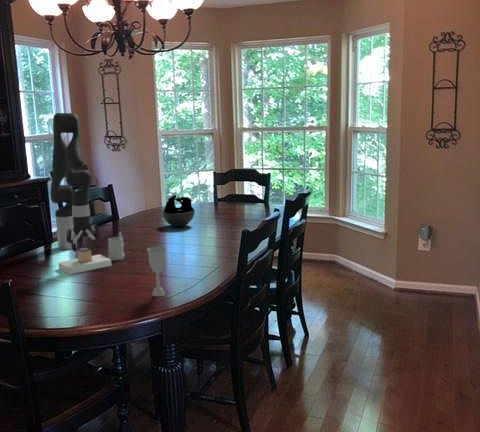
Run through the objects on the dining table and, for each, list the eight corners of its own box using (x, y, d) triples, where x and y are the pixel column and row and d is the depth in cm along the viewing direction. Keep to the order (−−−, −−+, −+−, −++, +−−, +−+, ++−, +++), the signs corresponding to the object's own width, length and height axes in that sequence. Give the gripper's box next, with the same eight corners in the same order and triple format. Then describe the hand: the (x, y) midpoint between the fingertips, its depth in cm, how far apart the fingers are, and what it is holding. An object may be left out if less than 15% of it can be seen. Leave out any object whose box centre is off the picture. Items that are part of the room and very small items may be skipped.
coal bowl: (193, 229, 308) (192, 199, 305) (160, 230, 309) (158, 199, 305) (196, 223, 328) (195, 193, 324) (165, 223, 328) (164, 194, 325)
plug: (78, 267, 235) (77, 249, 233) (88, 265, 238) (86, 247, 236) (82, 269, 232) (81, 251, 230) (92, 267, 235) (91, 249, 233)
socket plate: (58, 268, 233) (58, 262, 232) (100, 260, 246) (99, 254, 245) (69, 274, 224) (68, 268, 223) (111, 265, 237) (111, 259, 236)
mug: (105, 260, 246) (103, 236, 243) (116, 253, 257) (114, 230, 255) (120, 261, 244) (119, 236, 242) (130, 254, 256) (129, 231, 253)
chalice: (168, 290, 201) (167, 246, 198) (167, 296, 195) (165, 251, 191) (150, 291, 201) (147, 246, 198) (147, 297, 195) (145, 251, 191)
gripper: (92, 211, 237) (95, 245, 241) (62, 215, 228) (65, 250, 232) (99, 213, 232) (102, 248, 235) (69, 218, 223) (71, 254, 226)
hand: (83, 249), depth 233 cm, fingers open, 8 cm apart
